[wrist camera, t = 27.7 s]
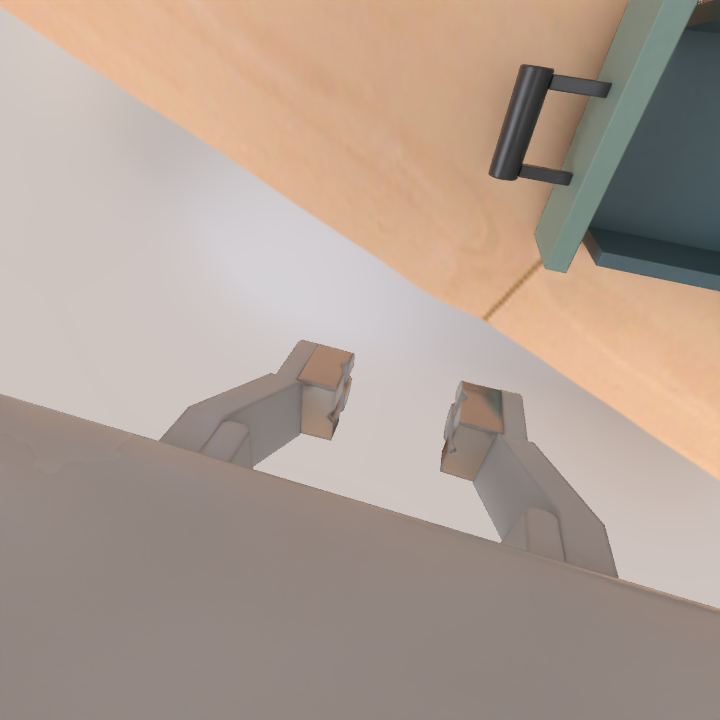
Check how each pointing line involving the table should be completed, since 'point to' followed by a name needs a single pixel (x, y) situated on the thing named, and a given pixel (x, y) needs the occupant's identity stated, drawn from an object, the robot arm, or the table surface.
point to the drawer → (633, 149)
